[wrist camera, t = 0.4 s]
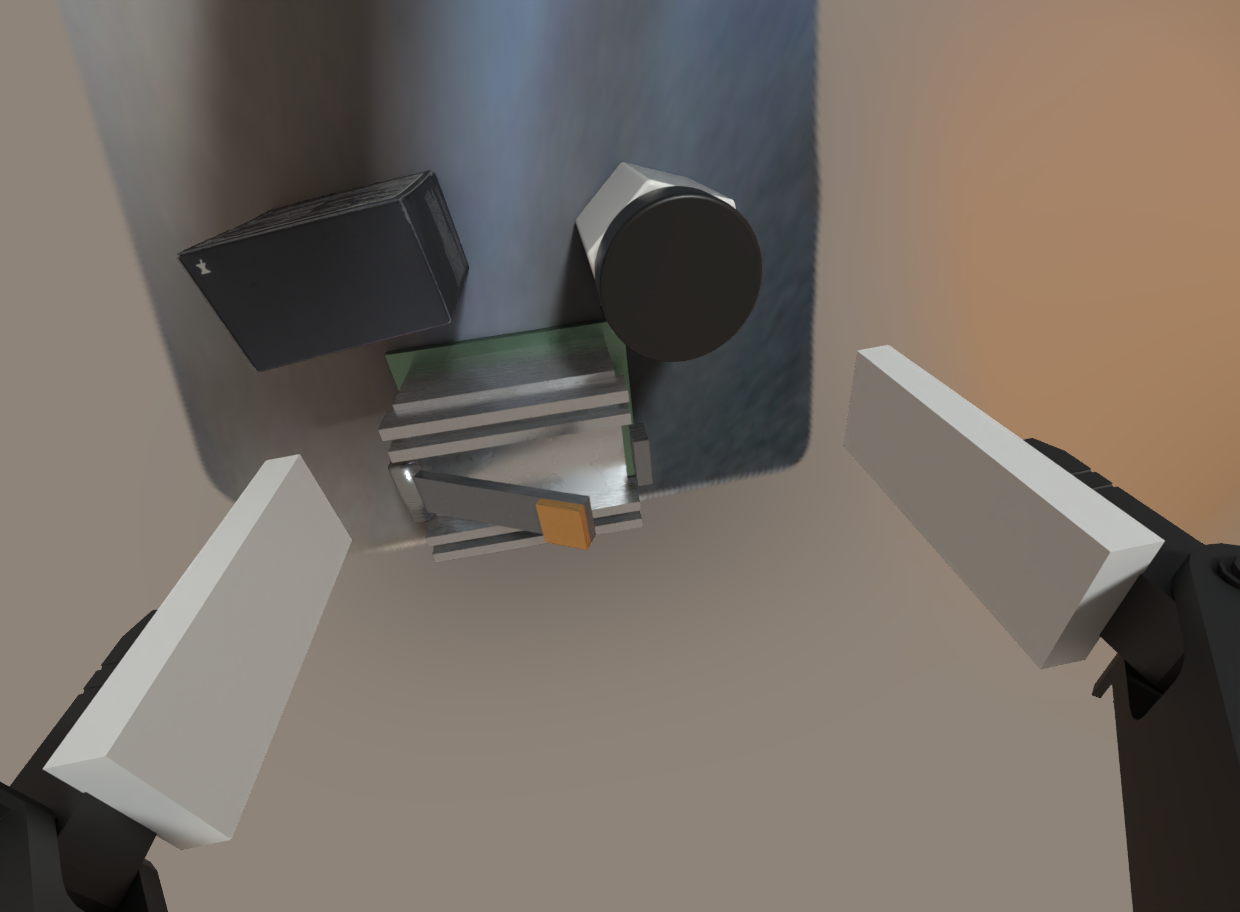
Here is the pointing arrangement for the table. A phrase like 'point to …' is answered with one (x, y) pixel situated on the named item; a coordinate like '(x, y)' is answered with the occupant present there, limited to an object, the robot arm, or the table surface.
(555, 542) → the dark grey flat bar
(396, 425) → the heatsink
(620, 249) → the jar
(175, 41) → the table surface
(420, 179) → the small box
